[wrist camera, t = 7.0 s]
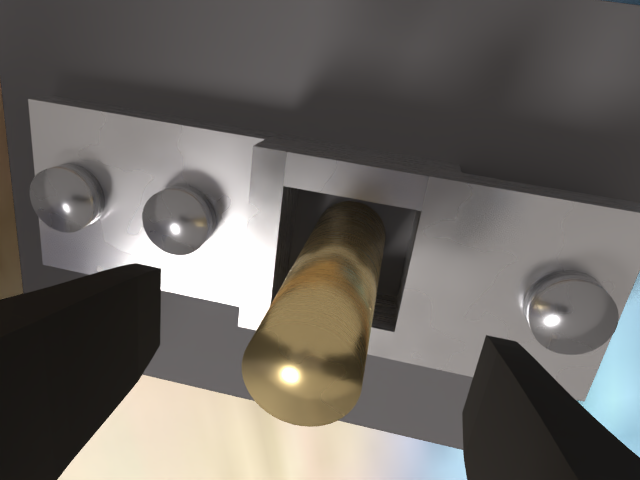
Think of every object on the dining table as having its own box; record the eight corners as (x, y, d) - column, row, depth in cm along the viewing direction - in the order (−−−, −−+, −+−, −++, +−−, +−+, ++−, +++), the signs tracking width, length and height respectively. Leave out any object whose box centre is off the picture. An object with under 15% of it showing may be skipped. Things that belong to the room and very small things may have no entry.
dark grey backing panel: (45, 335, 22) (29, 347, 21) (7, -70, 16) (-17, -78, 15) (541, 450, 20) (547, 469, 19) (713, 19, 14) (734, 17, 13)
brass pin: (312, 259, 17) (237, 411, 10) (321, 195, 17) (246, 311, 9) (378, 272, 17) (351, 438, 10) (391, 208, 16) (372, 338, 9)
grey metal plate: (64, 252, 19) (0, 288, 16) (52, 95, 17) (-23, 104, 14) (562, 356, 17) (593, 419, 14) (625, 192, 15) (677, 226, 12)
